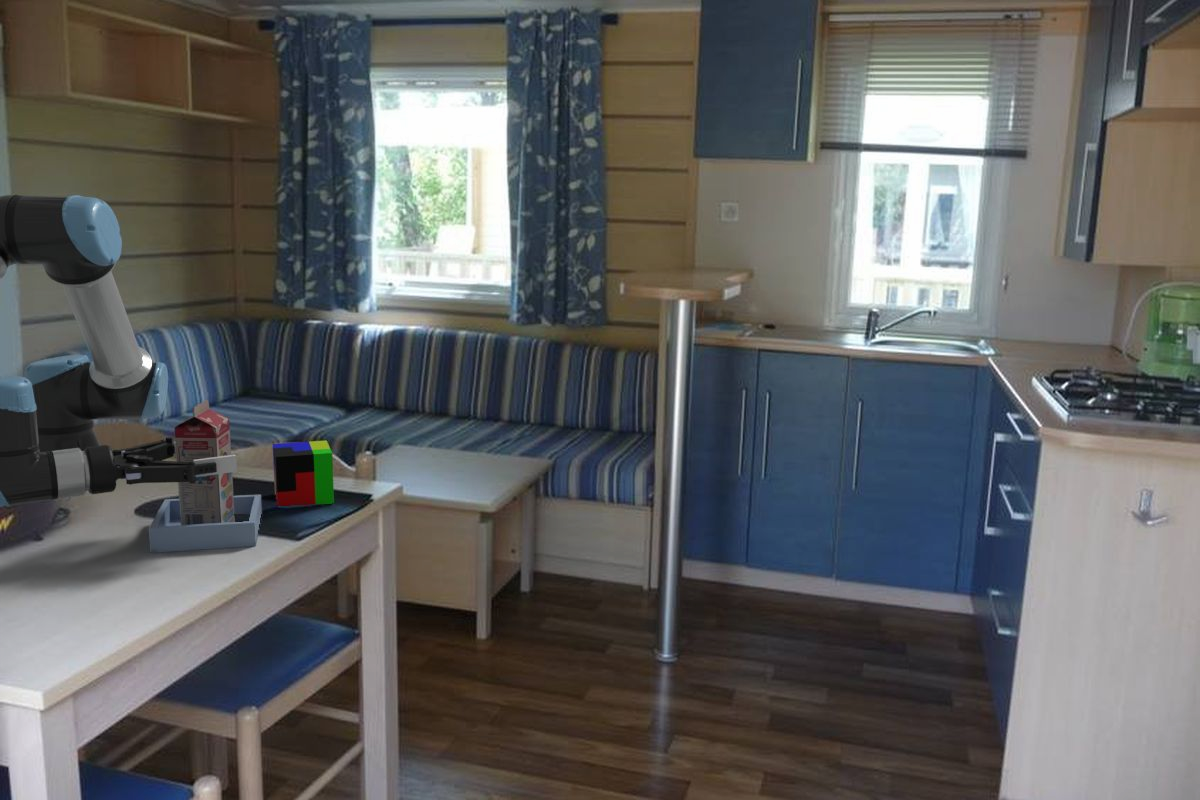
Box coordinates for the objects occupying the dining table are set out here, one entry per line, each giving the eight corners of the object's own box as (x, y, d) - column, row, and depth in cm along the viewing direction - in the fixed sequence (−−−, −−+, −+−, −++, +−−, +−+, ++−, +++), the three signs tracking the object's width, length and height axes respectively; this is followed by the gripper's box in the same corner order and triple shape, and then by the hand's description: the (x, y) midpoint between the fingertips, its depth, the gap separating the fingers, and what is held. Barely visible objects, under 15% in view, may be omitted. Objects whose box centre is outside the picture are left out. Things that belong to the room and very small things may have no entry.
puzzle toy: (274, 494, 192) (272, 443, 190) (328, 489, 195) (326, 440, 193) (278, 509, 183) (275, 456, 181) (334, 504, 186) (332, 452, 184)
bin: (166, 521, 175) (164, 499, 174) (262, 515, 179) (261, 494, 178) (150, 552, 159) (148, 529, 159) (255, 545, 163) (254, 522, 163)
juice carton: (181, 536, 165) (173, 407, 161) (196, 523, 172) (188, 398, 168) (222, 536, 166) (214, 407, 161) (235, 523, 172) (228, 399, 168)
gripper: (75, 475, 167) (207, 458, 179) (100, 515, 147) (246, 493, 159) (71, 431, 165) (204, 418, 177) (96, 466, 145) (244, 448, 157)
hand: (225, 453), depth 168 cm, fingers open, 13 cm apart
